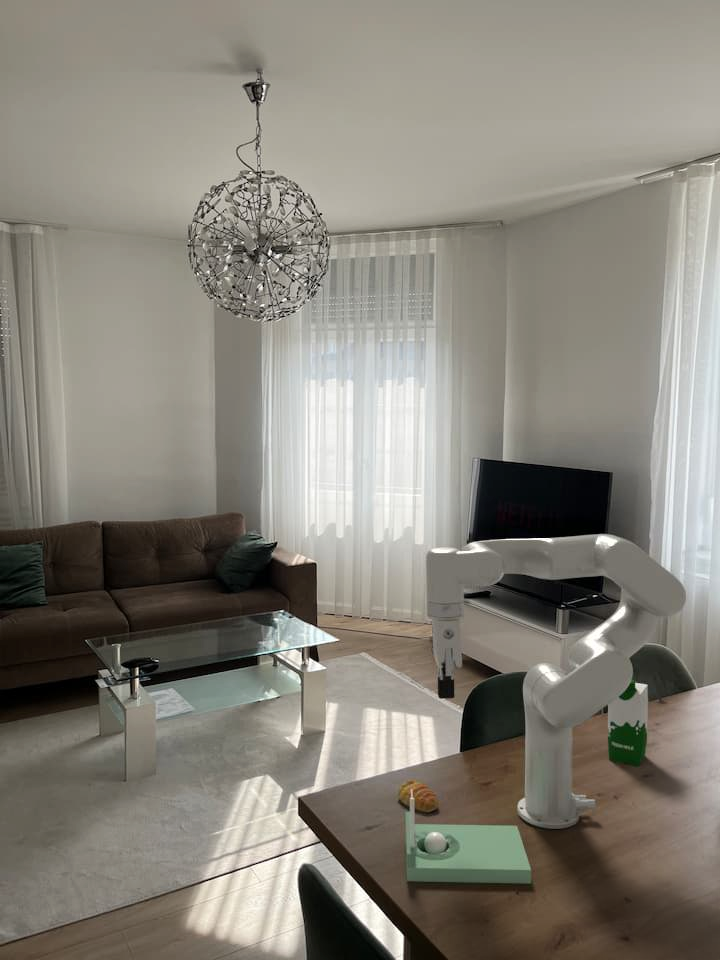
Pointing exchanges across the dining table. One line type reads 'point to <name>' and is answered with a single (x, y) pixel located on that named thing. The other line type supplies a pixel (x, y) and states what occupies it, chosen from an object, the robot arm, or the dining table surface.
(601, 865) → the dining table surface
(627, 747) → the milk carton
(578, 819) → the robot arm
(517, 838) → the mat
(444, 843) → the ball
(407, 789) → the pastry
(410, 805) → the flag
